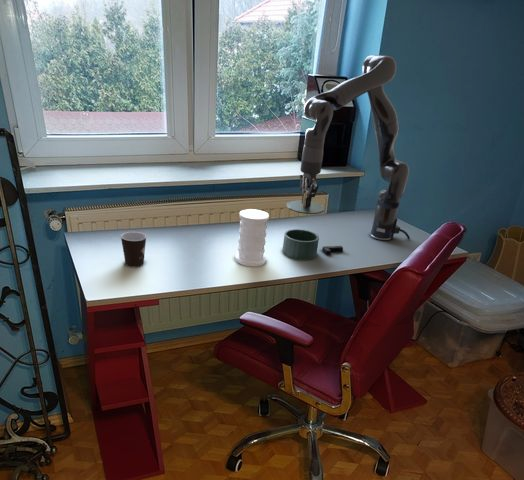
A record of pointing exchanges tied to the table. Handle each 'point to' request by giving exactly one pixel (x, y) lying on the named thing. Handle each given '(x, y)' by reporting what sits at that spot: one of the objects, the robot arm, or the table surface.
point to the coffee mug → (133, 248)
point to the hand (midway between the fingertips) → (305, 205)
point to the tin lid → (301, 208)
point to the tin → (300, 244)
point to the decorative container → (252, 237)
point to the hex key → (332, 249)
